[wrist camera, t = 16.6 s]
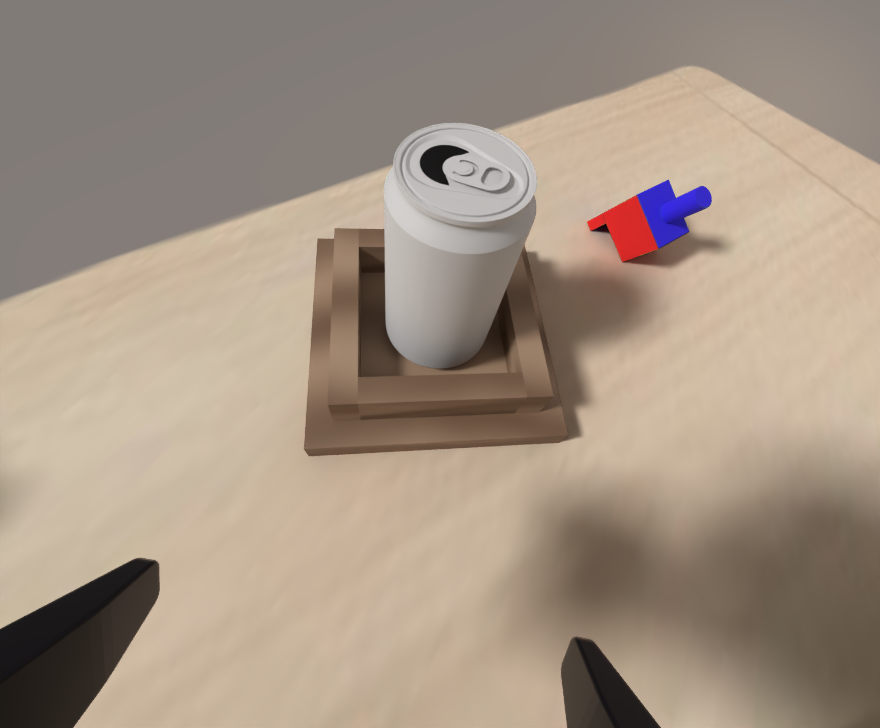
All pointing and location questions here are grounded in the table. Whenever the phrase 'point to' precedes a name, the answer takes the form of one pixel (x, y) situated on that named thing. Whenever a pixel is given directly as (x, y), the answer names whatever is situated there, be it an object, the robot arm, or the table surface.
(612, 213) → the toy building block
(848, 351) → the table surface
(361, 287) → the socket block
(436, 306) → the beverage can
